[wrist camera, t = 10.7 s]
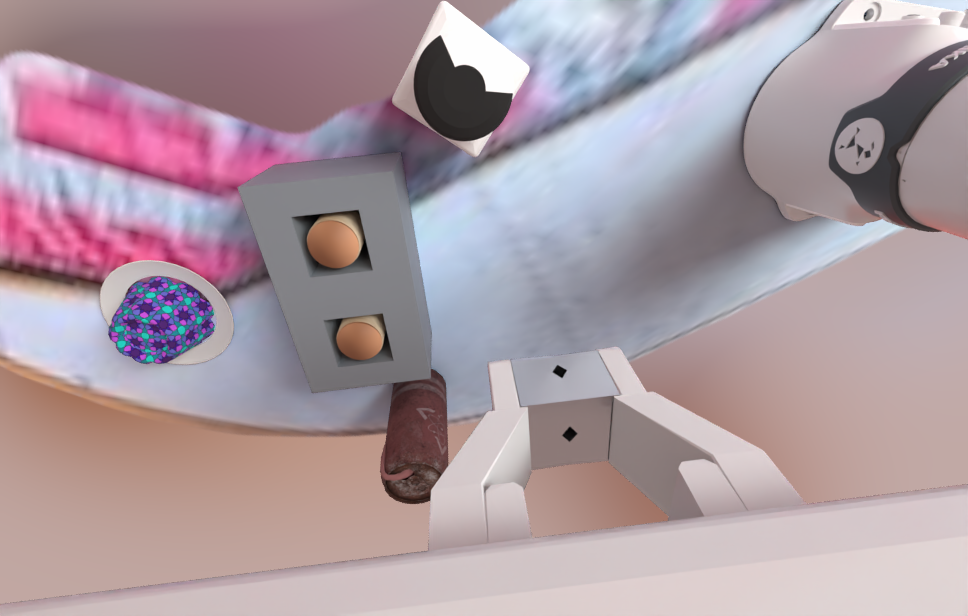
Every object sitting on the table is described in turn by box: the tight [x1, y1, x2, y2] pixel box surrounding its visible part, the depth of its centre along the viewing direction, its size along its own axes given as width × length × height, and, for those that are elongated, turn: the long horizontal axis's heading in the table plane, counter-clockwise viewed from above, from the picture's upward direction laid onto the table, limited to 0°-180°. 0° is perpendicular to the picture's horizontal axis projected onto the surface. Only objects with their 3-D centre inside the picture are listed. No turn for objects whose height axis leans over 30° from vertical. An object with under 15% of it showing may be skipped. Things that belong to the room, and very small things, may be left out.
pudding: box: [100, 260, 234, 365], centre depth 42 cm, size 12×12×5 cm
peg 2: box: [336, 313, 386, 360], centre depth 41 cm, size 4×4×8 cm
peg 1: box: [307, 210, 365, 268], centre depth 37 cm, size 4×4×8 cm
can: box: [380, 369, 448, 504], centre depth 45 cm, size 6×6×14 cm
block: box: [238, 152, 432, 393], centre depth 39 cm, size 11×19×8 cm, turn 5°
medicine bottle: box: [392, 1, 529, 157], centre depth 31 cm, size 7×7×12 cm
